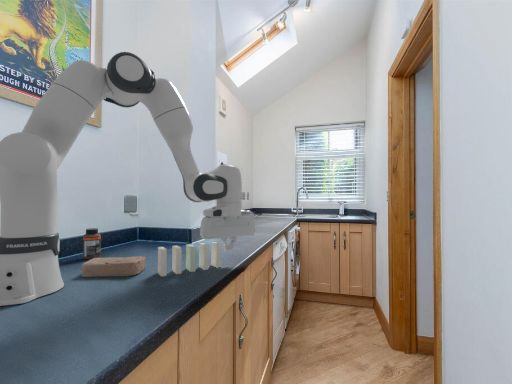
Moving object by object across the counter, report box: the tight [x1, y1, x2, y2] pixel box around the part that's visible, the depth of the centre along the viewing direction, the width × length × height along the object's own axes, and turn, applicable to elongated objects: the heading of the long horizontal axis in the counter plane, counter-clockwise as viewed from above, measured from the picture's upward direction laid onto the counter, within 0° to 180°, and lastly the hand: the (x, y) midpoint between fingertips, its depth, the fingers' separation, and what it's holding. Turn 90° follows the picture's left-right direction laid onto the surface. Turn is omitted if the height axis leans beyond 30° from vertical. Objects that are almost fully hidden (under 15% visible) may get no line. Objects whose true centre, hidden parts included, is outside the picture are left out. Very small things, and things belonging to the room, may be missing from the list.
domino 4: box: [210, 241, 222, 269], centre depth 93 cm, size 2×5×8 cm, turn 32°
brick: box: [81, 255, 147, 278], centre depth 86 cm, size 17×8×5 cm, turn 94°
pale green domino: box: [185, 243, 197, 273], centre depth 89 cm, size 2×5×8 cm, turn 33°
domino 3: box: [198, 242, 210, 271], centre depth 91 cm, size 2×5×8 cm, turn 32°
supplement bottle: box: [82, 227, 102, 260], centre depth 105 cm, size 6×6×11 cm
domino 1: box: [157, 246, 168, 277], centre depth 84 cm, size 2×5×8 cm, turn 32°
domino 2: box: [171, 245, 183, 275], centre depth 86 cm, size 2×5×8 cm, turn 32°
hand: (228, 250), depth 96 cm, fingers closed
